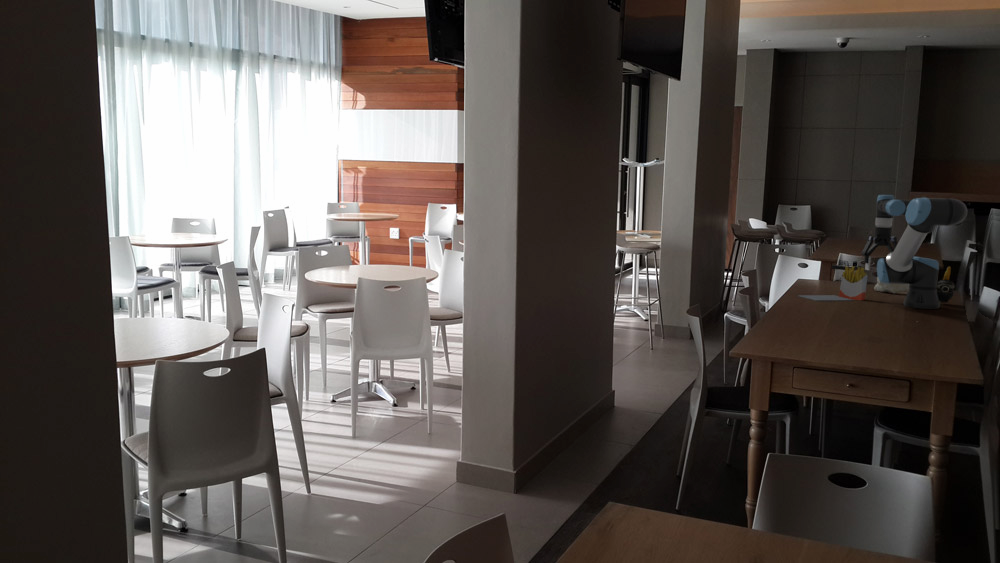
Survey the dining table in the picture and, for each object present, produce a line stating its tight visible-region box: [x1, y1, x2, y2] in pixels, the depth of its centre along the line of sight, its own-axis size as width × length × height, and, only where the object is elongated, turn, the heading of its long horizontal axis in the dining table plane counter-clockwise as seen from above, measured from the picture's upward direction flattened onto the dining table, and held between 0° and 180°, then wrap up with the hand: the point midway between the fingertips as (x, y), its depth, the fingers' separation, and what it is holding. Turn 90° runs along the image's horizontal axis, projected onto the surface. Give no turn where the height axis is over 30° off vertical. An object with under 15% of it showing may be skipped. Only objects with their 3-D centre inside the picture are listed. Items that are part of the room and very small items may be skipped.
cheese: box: [873, 276, 909, 295], centre depth 428 cm, size 15×7×15 cm
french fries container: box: [838, 265, 869, 301], centre depth 405 cm, size 5×11×18 cm, turn 44°
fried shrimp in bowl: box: [937, 266, 956, 304], centre depth 398 cm, size 9×11×18 cm
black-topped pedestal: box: [831, 259, 863, 281], centre depth 466 cm, size 28×26×13 cm
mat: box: [797, 294, 854, 302], centre depth 405 cm, size 16×20×1 cm
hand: (879, 270), depth 409 cm, fingers open, 13 cm apart
